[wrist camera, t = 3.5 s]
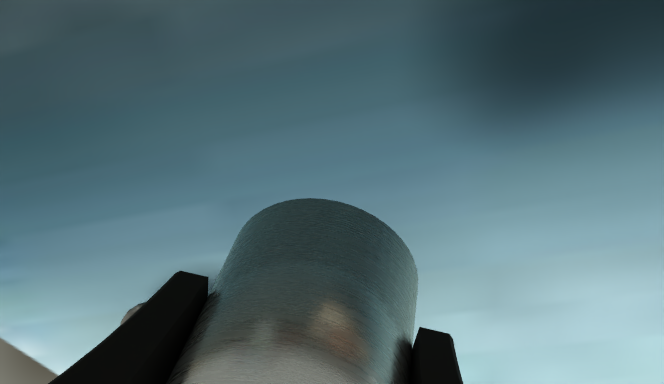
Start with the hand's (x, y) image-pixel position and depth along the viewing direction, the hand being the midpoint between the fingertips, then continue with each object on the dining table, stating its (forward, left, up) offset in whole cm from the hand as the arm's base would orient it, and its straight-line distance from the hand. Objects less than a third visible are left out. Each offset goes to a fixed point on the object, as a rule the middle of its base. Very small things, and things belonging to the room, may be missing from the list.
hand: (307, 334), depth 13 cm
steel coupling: (0, 0, -2) cm, 2 cm away
